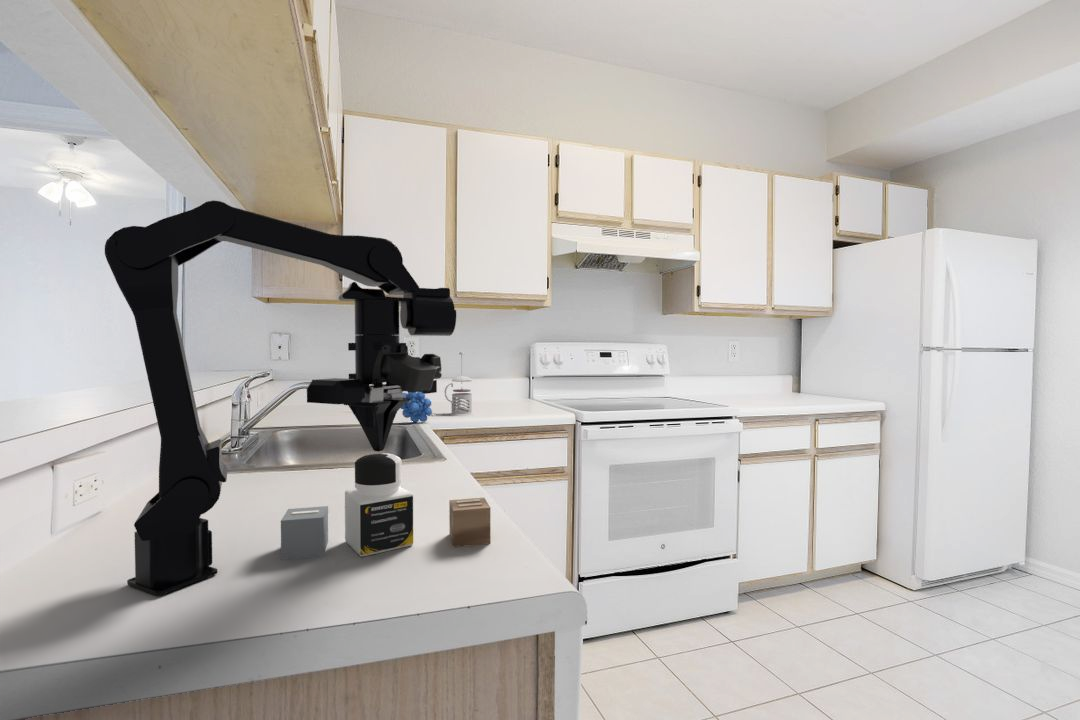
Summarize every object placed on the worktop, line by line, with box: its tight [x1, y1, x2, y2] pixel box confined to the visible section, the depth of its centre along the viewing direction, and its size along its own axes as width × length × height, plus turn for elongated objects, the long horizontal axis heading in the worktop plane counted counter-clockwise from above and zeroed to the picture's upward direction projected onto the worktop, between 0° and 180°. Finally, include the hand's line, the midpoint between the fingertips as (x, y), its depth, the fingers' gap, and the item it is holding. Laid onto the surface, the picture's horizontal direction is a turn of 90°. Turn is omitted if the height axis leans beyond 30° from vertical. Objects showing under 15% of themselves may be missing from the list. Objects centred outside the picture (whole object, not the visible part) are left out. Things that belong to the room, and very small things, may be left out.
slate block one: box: [280, 505, 329, 560], centre depth 69 cm, size 5×5×5 cm
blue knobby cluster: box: [400, 392, 433, 423], centre depth 185 cm, size 12×7×12 cm, turn 95°
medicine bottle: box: [344, 452, 414, 558], centre depth 71 cm, size 7×7×12 cm
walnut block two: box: [448, 497, 492, 548], centre depth 73 cm, size 5×5×5 cm
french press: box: [444, 351, 475, 417], centre depth 209 cm, size 10×12×25 cm
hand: (378, 450), depth 71 cm, fingers closed
